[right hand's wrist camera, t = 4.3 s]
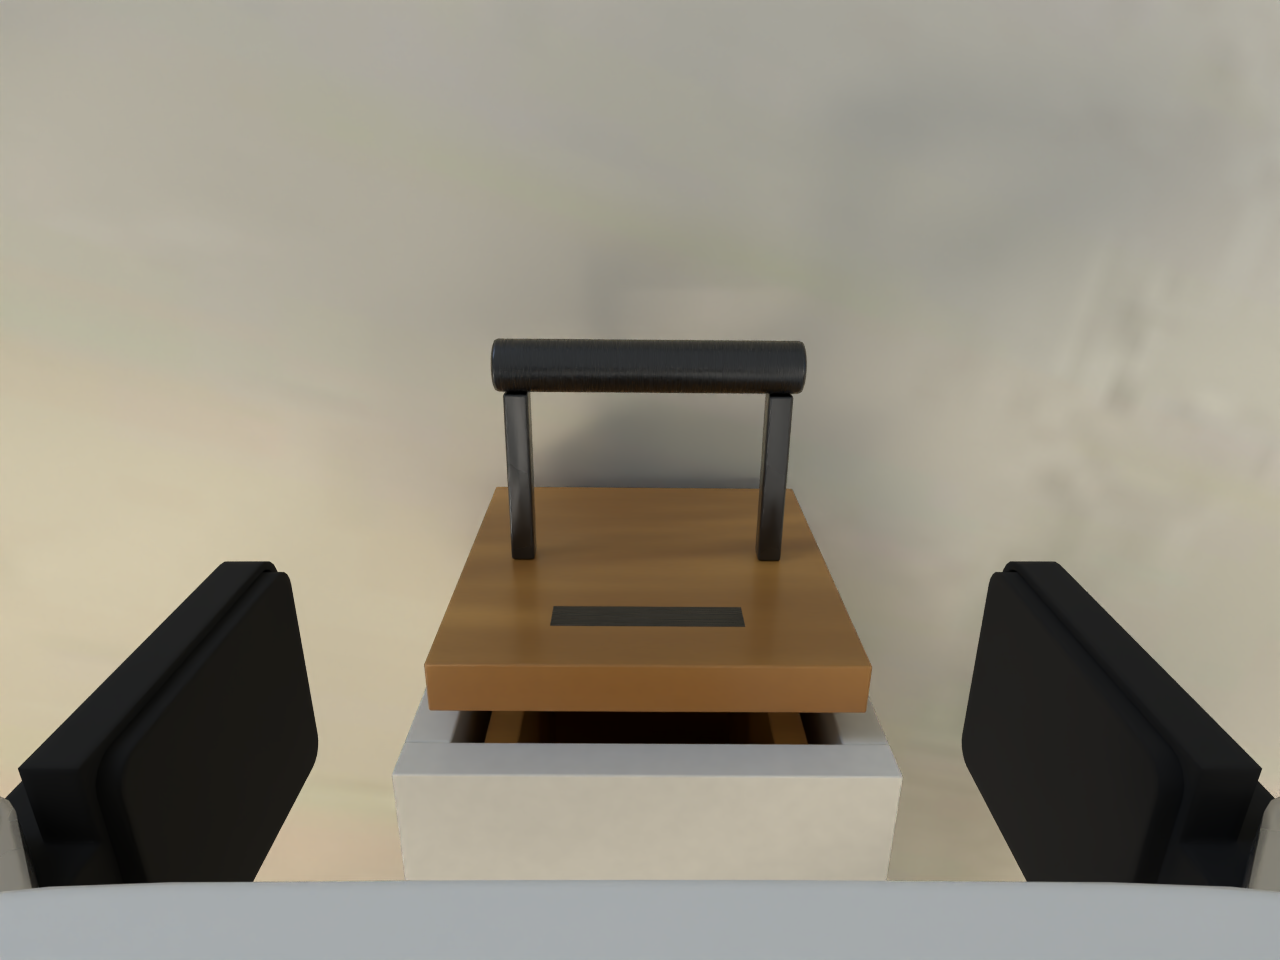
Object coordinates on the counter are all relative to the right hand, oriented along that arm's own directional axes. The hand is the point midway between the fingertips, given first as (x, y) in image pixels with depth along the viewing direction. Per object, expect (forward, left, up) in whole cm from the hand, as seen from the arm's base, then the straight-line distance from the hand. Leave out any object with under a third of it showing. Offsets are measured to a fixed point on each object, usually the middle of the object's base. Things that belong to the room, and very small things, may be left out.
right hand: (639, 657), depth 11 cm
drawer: (-6, -4, -15) cm, 17 cm away
